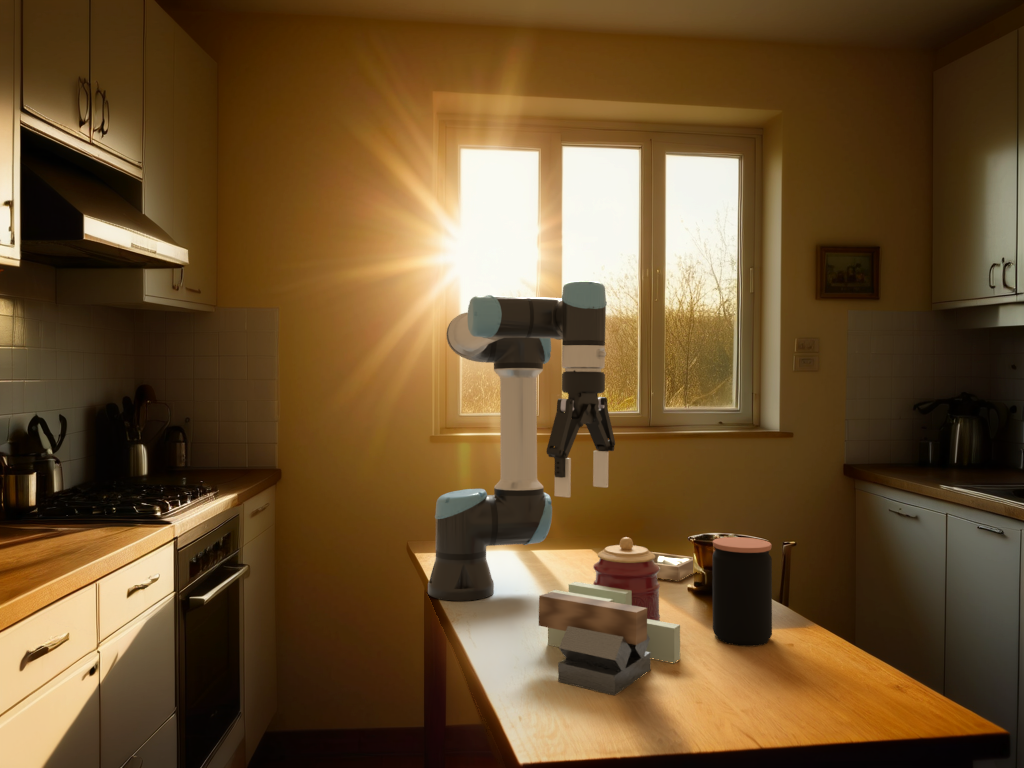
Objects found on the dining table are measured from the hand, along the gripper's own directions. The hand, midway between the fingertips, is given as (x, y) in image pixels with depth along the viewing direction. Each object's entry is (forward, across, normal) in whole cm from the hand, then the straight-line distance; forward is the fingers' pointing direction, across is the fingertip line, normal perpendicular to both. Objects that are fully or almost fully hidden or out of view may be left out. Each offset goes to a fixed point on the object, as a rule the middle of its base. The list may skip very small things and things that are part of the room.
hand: (582, 491), depth 137 cm
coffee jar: (+29, +25, -20) cm, 43 cm away
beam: (+29, +6, -4) cm, 30 cm away
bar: (+22, -7, -6) cm, 24 cm away
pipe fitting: (+31, +68, +11) cm, 75 cm away
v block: (+28, -7, -8) cm, 30 cm away
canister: (+29, +19, 0) cm, 35 cm away
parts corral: (+30, +66, +13) cm, 74 cm away
